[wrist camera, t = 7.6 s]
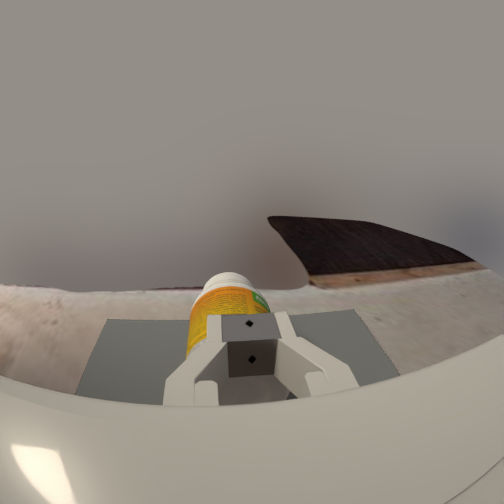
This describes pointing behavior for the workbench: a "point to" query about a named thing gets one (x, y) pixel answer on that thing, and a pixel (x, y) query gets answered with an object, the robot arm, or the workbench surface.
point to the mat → (175, 346)
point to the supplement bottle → (217, 303)
